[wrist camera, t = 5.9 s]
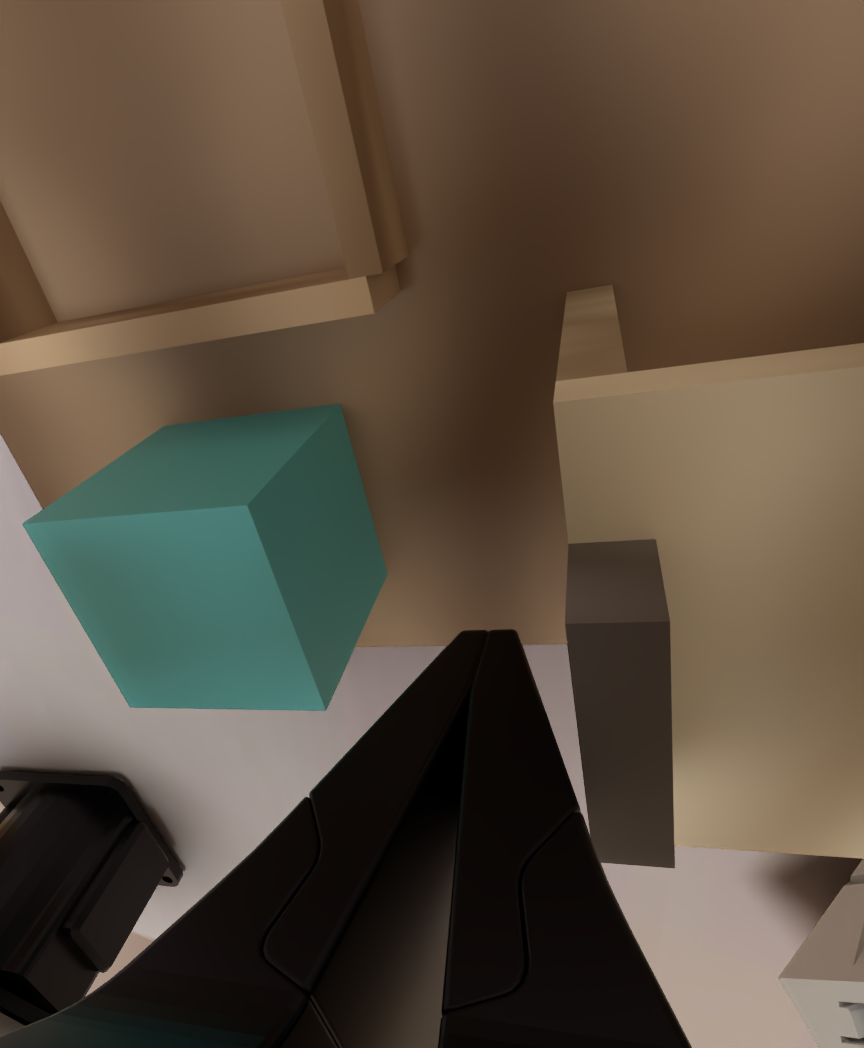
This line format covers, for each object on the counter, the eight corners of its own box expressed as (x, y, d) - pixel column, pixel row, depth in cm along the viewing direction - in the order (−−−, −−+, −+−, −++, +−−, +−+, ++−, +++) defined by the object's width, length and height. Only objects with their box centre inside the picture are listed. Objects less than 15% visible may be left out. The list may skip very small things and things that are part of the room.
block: (230, 581, 17) (129, 707, 13) (164, 425, 15) (22, 524, 11) (387, 574, 16) (326, 710, 12) (340, 403, 14) (247, 505, 10)
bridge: (596, 619, 15) (602, 936, 9) (567, 292, 12) (545, 463, 6) (940, 611, 13) (1234, 1005, 7) (1035, 216, 10) (1776, 351, 4)
